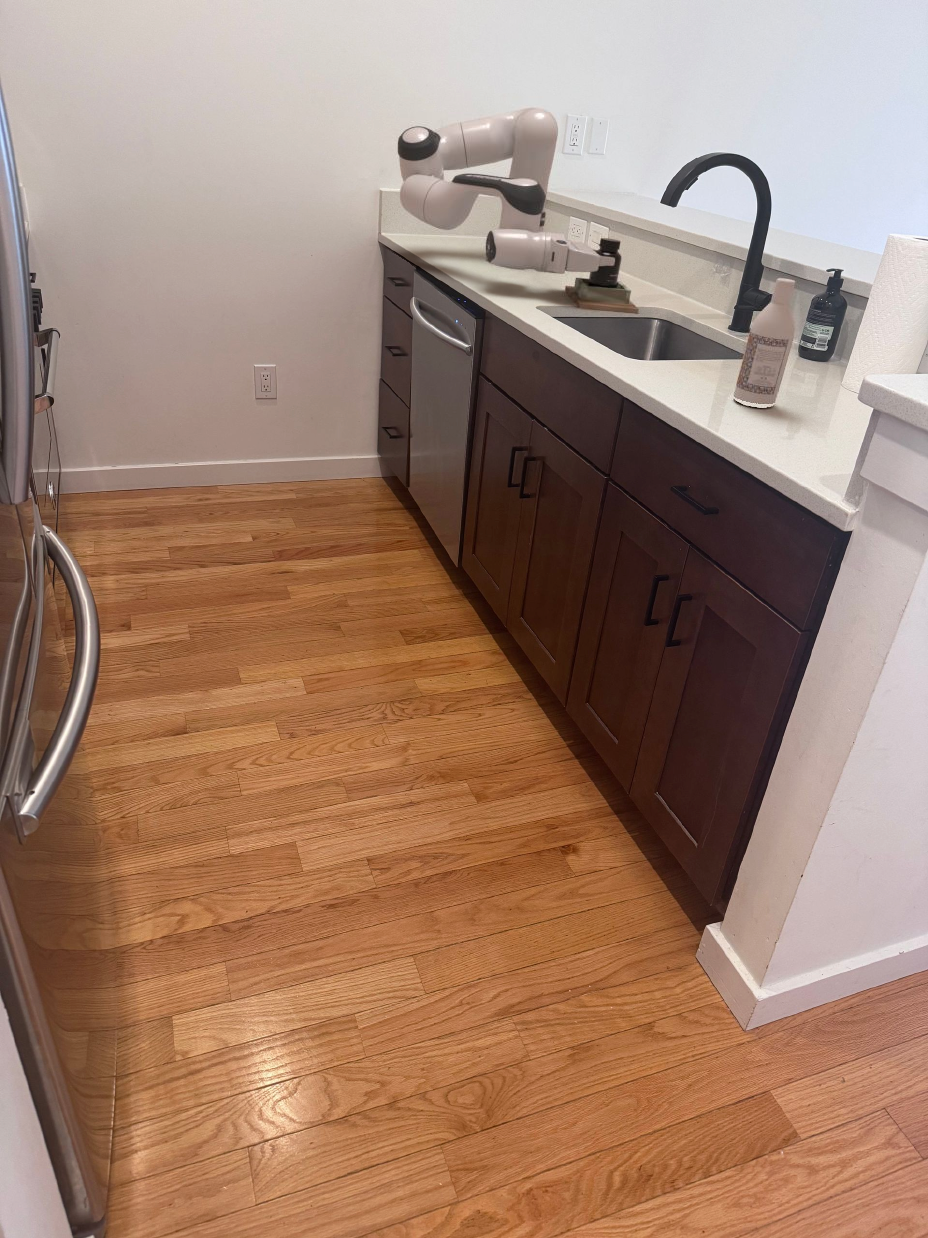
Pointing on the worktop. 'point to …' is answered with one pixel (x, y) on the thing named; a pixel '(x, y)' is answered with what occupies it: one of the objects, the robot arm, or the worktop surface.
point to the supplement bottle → (607, 274)
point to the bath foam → (767, 348)
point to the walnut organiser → (601, 297)
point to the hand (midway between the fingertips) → (610, 258)
